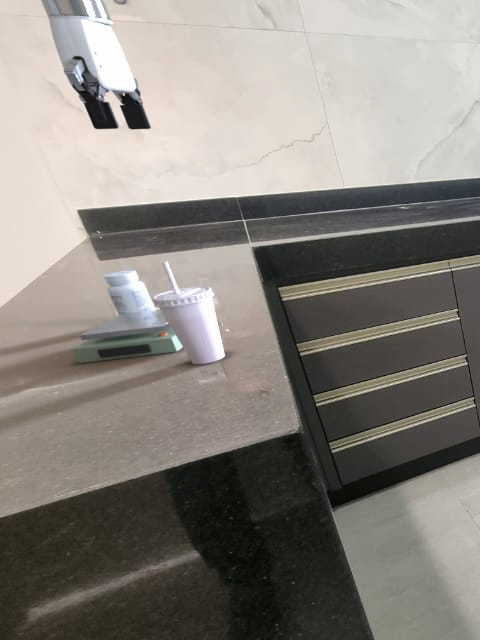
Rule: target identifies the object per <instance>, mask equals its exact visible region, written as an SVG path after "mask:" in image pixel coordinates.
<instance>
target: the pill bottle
mask: <svg viewBox="0 0 480 640" xmlns="http://www.w3.org/2000/svg"><path fill="white" fill-rule="evenodd" d="M103 277H104V280H105V282H106V283H107V285H108V287H107V294H108V295H109V297H110V299H111V302H112V304H113V306H114V308H115V310H116V313H117V314H118V315H120V314H123V313H132V312H142V311H152V310H156V308H155V307H156V306H155V305H154V302H153V300H152V299H151V295H150V293H149V291H148V289H147V287H146V285H145V283H144V282H143V281H140V280H139V279H140V278H139V275H138V273H137V271H136V270H121V271H115V272H111V273H106V274H104V275H103Z"/></svg>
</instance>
